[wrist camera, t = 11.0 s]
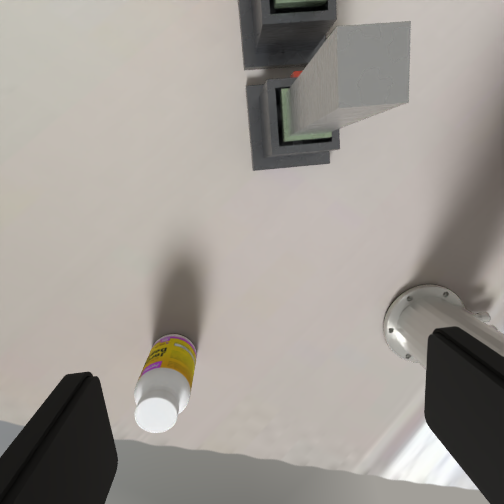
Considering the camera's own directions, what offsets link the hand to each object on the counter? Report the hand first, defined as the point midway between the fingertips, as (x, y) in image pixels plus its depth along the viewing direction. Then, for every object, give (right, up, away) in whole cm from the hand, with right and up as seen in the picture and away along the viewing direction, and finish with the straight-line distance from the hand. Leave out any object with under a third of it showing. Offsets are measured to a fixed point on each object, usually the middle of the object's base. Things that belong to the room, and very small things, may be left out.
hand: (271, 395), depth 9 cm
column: (+5, +18, +26) cm, 32 cm away
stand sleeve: (+4, +20, +33) cm, 39 cm away
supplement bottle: (-12, -11, +39) cm, 43 cm away
